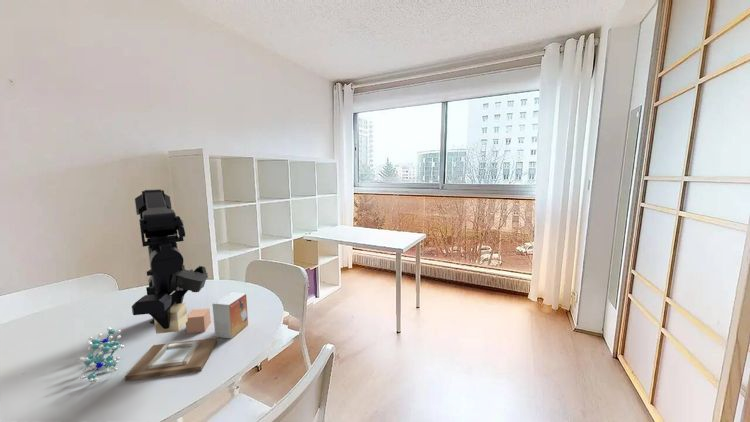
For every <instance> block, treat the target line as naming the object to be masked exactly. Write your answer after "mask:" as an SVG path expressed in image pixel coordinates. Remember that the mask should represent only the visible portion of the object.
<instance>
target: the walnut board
mask: <svg viewBox="0 0 750 422" xmlns="http://www.w3.org/2000/svg"><path fill="white" fill-rule="evenodd" d="M218 338H219V337H214V338H212V337H211V338H203V339H195V340H188V341H187V340H185V341H178V342H169V343H160V344H153V345H152V346H151V347H150V348H149V349H148V350H147V351H146V353H145V354H143V356H142V357H141V358H140V359H139V360H138V361H137V362H136V363H135V365H134V366H132V368H130V370H129V371H128V372H127V373H126V374H125V376H124V382H128V381H130V382H131V381H139V380H145V379H151V378H159V377H160V378H161V377H165V376H172V375H179V374H180V375H181V374H186V373H187V374H188V373H196V372H202V371H203V369H204V367H205V365H206V363H208V360H209V359H210V356H211V354H212V353H213V352H214V350H215V347H216V345H218V344H217V343H218V342H219V341H218Z"/></svg>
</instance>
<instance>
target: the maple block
mask: <svg viewBox="0 0 750 422" xmlns="http://www.w3.org/2000/svg"><path fill="white" fill-rule="evenodd" d="M187 315H188V309H187V303H186V302H183V303H180V304H174V305H173V306H172V307H171V309H170V327H169V328H168V329H164V328H163V327H162V326H161V325H160V324H159V323H158V322H157V321H156V320H155V319H154V322H155V323H154V329H155V334H156V335H158V334H169V333H176V332H178V333H179V332H180V331H181V329H183V327H184V326H186V322H187V321H188V319H187Z"/></svg>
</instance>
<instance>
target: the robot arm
mask: <svg viewBox="0 0 750 422" xmlns="http://www.w3.org/2000/svg"><path fill="white" fill-rule="evenodd" d="M134 204H135V212H136V216H138V215H139V218H140V219H138V220H139V228H140V235H141V243H142V247H147V251H148V258H149V266H150V267H149V268H150V269H149V270H147V271H146V276H148V277H149V278H148V280H147V281H148V282H147V283H148V286H146V287H145V288H146V294H145V295H144V296H142V297H141V298H139V299H138V300H137V301H135V302H134V303H133V304H132V306H131V313H132V315H133V316H141V315H142V316H143V315H150V316H151V317H152V319H151V320H150V322H149V323H150V324H155V322H154V319H155V320H156V321H157V322H158V323H159V324H160V325H161V326H162V327H163V328H164V329H168V328H169V327H170V309H171V307H172V306H173V305H174V304H180V303H184V299H185V296H186V294H187V293H188V291H191V292H192V293H200V291H201V290H202V289H203V288H204V286H205V284H206V281H207V279H208V278H209V275H208V272H207V268H206V266H203V265H198V266H197V267H196V268H195V269H194V270H193V269H192V268H191V269H190V270H188V269H186V268H185V267H186V266H185V264H184V257H183V255H182V253H181V252H180V250H179V248H178V243H179V242H184V237H186V231H185V228H184V227H185V226H184V221H183V219H181V217H180V216H179V215H176V212H175V210H174V209H172V208H173V207H172V202H171V197H170V196H169V195H167V194H166V193H165V190H164V189H161V188H159V189H144V190H141V194H140V195H138V196H137V197H135V198H134Z"/></svg>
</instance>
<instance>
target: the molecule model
mask: <svg viewBox="0 0 750 422" xmlns="http://www.w3.org/2000/svg"><path fill="white" fill-rule="evenodd" d="M106 331H108V332H107V334H108V335H107V337H106V338H104V339H102V340H101V339H100V338H101V337H102V336H103V334H102V333H99V334H98V335H97V336H98V337H95V338H94V337H93V336H89V337H88V341H87V342H86V345H87V346H88V347H87V350H88V351H89V350H90V351H91V350H92V351H91V353H89V354H87V355H86V356H85V357H84V356H80V357H79V361H80V362H84V365H85V366H84V367H83V368H82V369H81V371H82V372H86V371H87V367H88V366H89V367H91V369H92V370H94V372H91V373H90V374H88V375H87V376H85V375H81V376H80V380H84V379H85V378H87V380H88V382H89V383H93V382H94V383H95V382H96V383H97V381H98V380H99V378H98V377H96V372H97V371H98V369H101V368H102V367H105V368H104V369H103V370H102V373H106V372H107V371H108V369H107V368H109V370H111V371H113V372H117V370H118V368H117V367H116V366H117V365H118V364H119V361H120V359H121V357H120V356H116V358H114V356H113V354H114V352H115V351H117V350H118V349H123V348H125V344H122V343H121V344H120V341H119V339H121V338H122V336H121V335H117V336H116V340H112V339H114V338H113V337H114V336H113V335H114V334H115V333H117V334H120V333H121V332H122V330H121V329H118V330H115V329H113V328H112V327H111V326H110V327H107V329H106ZM97 349H100V351H98V352H97V353H96V354H95V355H94V354H93V353H94V351H95V350H97ZM110 350H111V351H112V352H111V353H110V355H107V357H106V356H105V354H107V353H109V352H110Z"/></svg>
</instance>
